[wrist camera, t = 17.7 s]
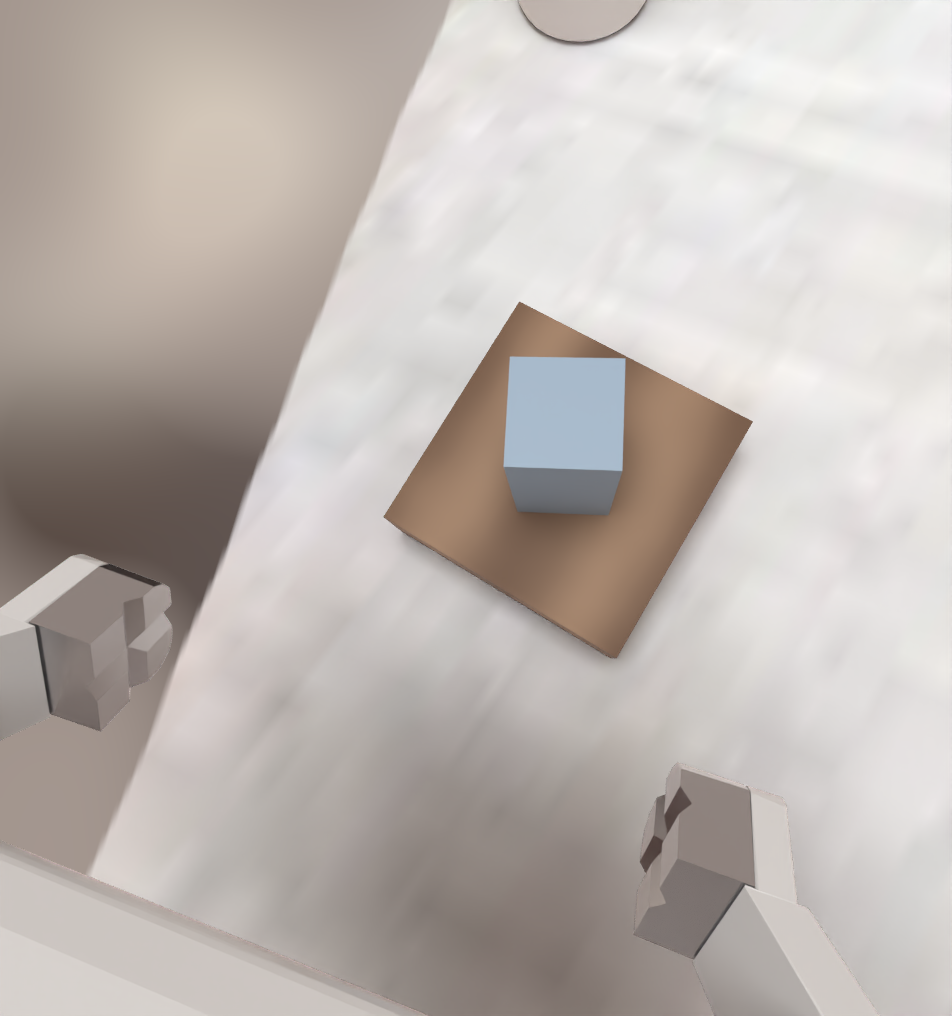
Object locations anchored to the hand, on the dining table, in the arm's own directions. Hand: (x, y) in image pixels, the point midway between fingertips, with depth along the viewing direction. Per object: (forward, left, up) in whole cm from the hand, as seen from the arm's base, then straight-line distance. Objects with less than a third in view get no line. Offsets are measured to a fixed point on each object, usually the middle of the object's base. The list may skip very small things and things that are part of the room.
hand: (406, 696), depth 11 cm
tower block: (+2, -9, -21) cm, 23 cm away
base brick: (+2, -9, -25) cm, 27 cm away
